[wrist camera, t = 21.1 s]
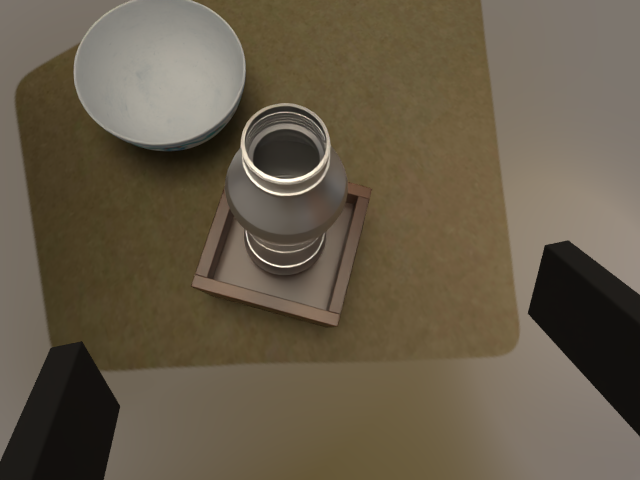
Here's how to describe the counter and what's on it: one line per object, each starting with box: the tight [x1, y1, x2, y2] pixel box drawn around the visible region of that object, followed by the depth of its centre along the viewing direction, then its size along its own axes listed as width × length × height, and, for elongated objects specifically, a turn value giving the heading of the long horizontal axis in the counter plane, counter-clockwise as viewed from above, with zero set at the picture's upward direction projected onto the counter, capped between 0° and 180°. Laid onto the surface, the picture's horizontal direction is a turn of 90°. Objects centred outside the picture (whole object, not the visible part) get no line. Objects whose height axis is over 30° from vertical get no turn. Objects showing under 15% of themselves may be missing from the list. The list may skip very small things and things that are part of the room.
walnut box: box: [191, 152, 372, 327], centre depth 38 cm, size 12×12×8 cm
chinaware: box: [74, 0, 246, 151], centre depth 41 cm, size 15×15×8 cm
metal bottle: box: [225, 103, 348, 275], centre depth 27 cm, size 6×7×20 cm
